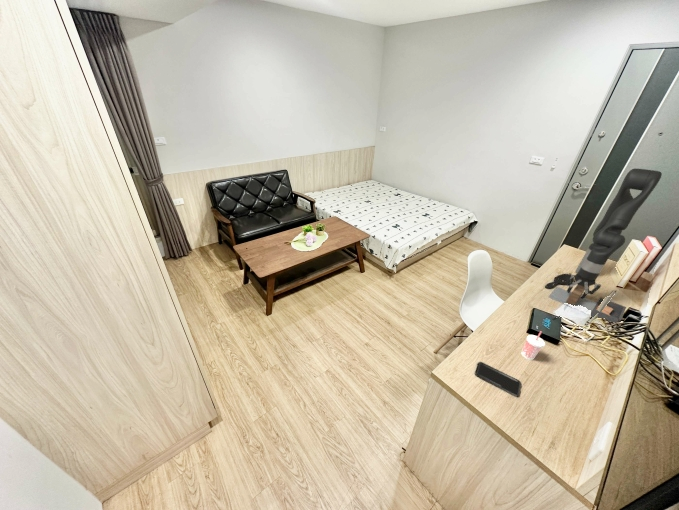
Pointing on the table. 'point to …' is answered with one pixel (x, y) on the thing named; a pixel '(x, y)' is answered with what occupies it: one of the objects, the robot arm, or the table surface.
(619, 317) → the tray
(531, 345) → the beverage cup
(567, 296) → the board
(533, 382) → the table surface
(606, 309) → the tile
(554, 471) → the table surface
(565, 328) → the phone case
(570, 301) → the brown wooden block
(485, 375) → the phone
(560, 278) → the hairbrush
